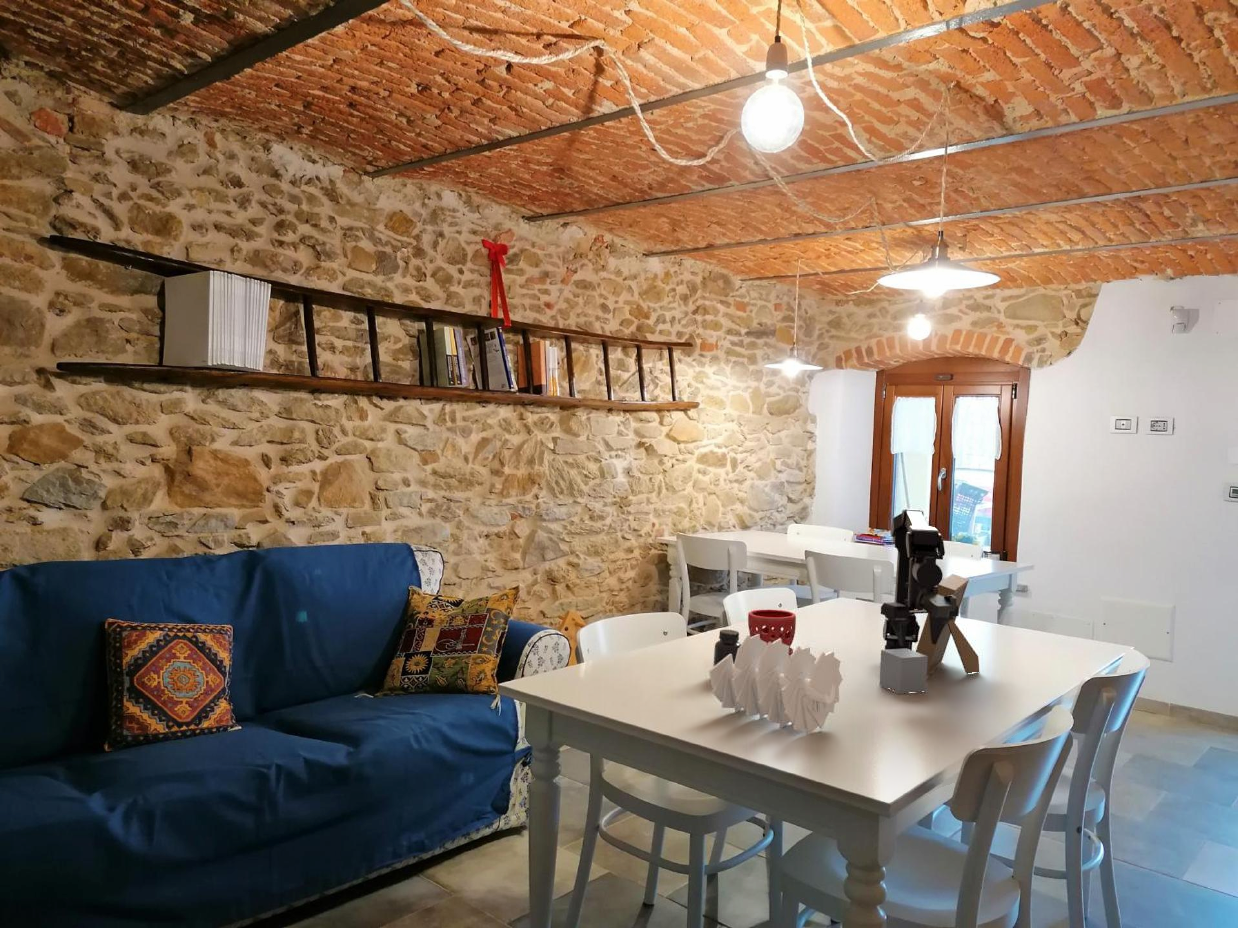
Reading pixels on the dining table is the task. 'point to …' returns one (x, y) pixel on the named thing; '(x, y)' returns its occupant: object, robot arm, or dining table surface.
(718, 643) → the supplement bottle
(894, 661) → the grey block
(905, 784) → the dining table surface
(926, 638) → the photo frame
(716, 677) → the spiral staircase
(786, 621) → the plant pot
